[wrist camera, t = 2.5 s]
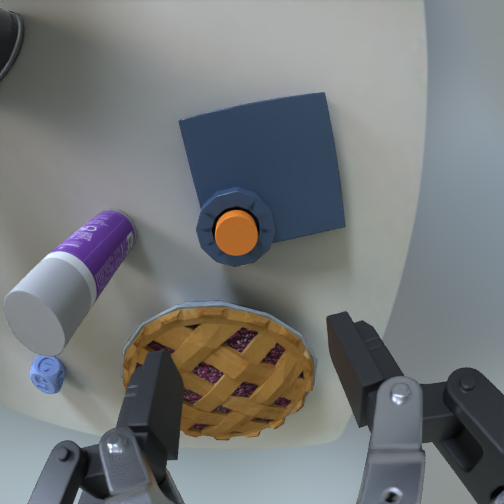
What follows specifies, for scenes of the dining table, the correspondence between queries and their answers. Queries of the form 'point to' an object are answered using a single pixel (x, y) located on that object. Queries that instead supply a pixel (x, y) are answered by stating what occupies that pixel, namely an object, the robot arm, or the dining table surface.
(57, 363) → the decorative dice
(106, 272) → the container
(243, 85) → the dining table surface
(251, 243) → the button
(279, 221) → the scale
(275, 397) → the pie
